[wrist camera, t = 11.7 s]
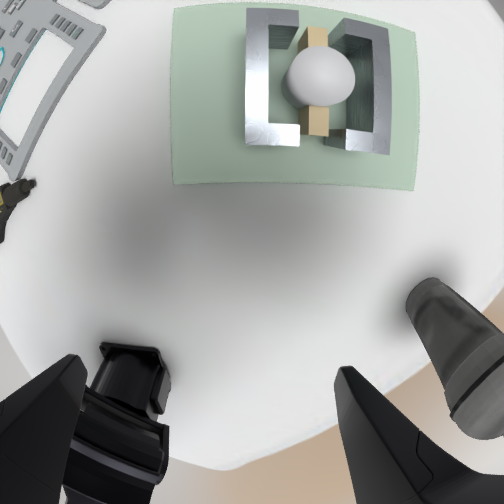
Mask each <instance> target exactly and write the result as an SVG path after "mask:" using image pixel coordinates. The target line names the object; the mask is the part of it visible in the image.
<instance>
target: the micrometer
mask: <svg viewBox="0 0 504 504" xmlns="http://www.w3.org/2000/svg"><path fill="white" fill-rule="evenodd" d="M33 187H34V181H33V180H29V181H26V180H24V179H21V180H19V181H17V182H15V183H14V184H12V185H11V184H9V183H6V184H4V185H1V186H0V243H2V242H3V240H4V228H5V223H6V222H5V221H7V220H8V219H9V217H10V215H11V213H12V211H13V210H14V208H15V207H16V205H17V203H18V202H20V201H21V200H23V199H24V198H26V197H27V196H28V195H29V192H30V189H32V188H33Z"/></svg>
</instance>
